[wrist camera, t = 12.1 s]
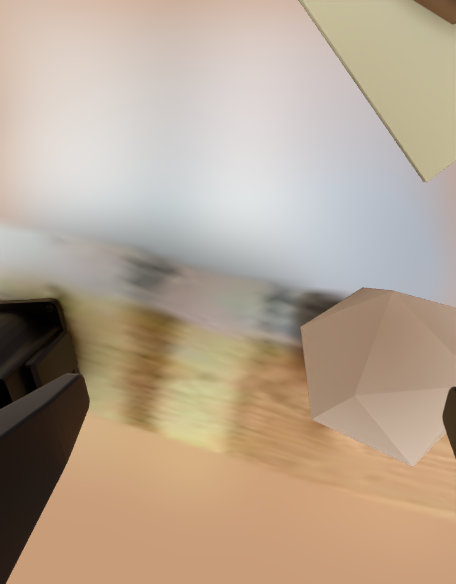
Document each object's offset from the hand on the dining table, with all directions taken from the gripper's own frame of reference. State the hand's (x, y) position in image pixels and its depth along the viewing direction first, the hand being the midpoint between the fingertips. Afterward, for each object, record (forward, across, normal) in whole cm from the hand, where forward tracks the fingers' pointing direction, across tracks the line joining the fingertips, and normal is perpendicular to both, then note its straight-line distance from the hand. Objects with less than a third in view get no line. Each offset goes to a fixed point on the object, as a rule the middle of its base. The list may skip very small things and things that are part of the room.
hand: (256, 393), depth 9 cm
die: (+13, -6, +6) cm, 16 cm away
